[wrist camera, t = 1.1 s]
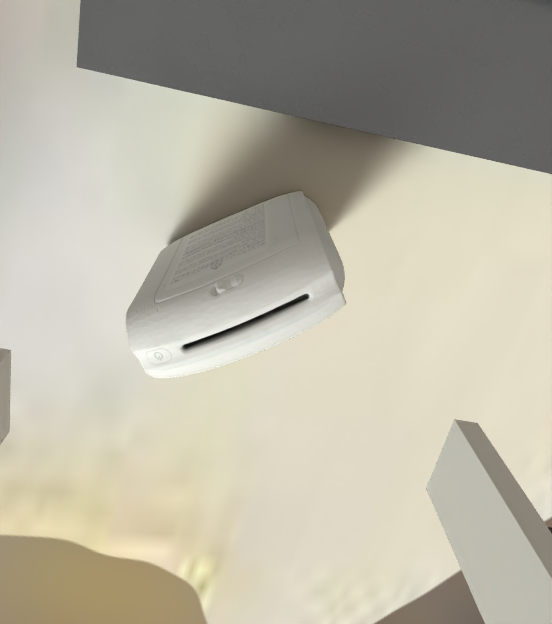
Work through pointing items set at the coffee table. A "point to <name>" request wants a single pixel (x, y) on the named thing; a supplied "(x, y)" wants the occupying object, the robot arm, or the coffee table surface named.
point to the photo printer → (236, 288)
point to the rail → (350, 64)
